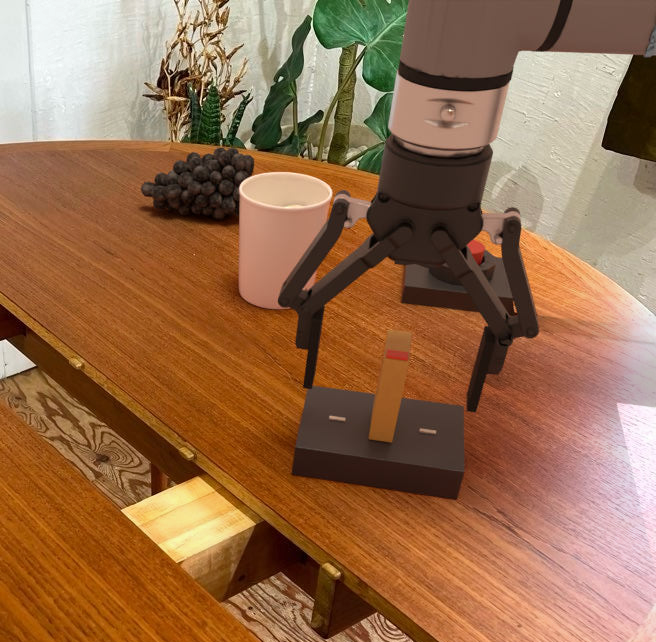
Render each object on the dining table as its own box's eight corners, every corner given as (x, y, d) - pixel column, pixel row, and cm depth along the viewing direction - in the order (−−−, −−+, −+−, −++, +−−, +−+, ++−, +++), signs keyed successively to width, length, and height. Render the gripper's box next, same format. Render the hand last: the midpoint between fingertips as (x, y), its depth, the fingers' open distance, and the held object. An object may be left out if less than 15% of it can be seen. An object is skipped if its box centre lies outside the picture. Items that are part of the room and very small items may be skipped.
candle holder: (215, 283, 111) (221, 181, 103) (287, 266, 114) (298, 165, 106) (262, 321, 104) (272, 214, 96) (336, 301, 107) (351, 197, 100)
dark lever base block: (456, 432, 88) (464, 404, 86) (456, 499, 81) (465, 470, 79) (304, 411, 91) (308, 383, 89) (291, 474, 83) (295, 445, 81)
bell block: (508, 276, 112) (517, 243, 110) (512, 316, 105) (522, 283, 102) (404, 264, 115) (410, 232, 112) (400, 303, 107) (407, 270, 105)
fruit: (137, 144, 119) (258, 148, 117) (146, 144, 127) (261, 148, 125) (135, 217, 122) (253, 222, 120) (144, 212, 130) (256, 217, 128)
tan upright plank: (372, 407, 86) (388, 326, 81) (395, 411, 86) (412, 329, 80) (368, 439, 82) (384, 356, 77) (392, 443, 82) (409, 359, 77)
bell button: (481, 254, 109) (484, 239, 108) (481, 270, 106) (485, 255, 105) (444, 250, 109) (448, 236, 108) (444, 265, 106) (447, 251, 105)
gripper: (257, 140, 67) (236, 394, 81) (634, 176, 63) (544, 438, 77) (273, 106, 73) (251, 349, 87) (620, 137, 68) (539, 389, 82)
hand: (388, 392), depth 82 cm, fingers open, 13 cm apart
